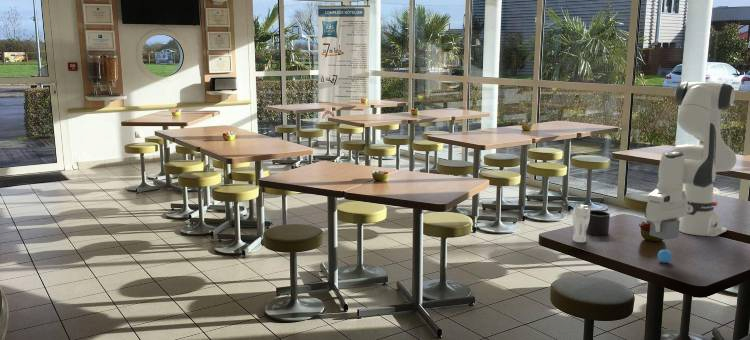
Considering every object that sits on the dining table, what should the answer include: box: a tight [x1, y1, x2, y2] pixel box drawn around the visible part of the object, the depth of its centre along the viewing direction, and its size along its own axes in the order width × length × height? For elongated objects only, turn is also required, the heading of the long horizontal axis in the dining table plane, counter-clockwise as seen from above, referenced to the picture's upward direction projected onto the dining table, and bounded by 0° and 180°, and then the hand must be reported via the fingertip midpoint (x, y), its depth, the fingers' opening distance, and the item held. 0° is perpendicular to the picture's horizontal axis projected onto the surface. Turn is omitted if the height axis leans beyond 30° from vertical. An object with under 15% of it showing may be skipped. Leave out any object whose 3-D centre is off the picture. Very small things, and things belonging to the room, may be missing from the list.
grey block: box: [649, 219, 680, 241], centre depth 243 cm, size 7×7×7 cm
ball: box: [657, 249, 673, 264], centre depth 244 cm, size 5×5×5 cm
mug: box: [587, 210, 611, 237], centre depth 283 cm, size 9×12×9 cm
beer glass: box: [571, 204, 591, 244], centre depth 270 cm, size 7×7×15 cm
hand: (665, 230), depth 243 cm, fingers closed on grey block, 7 cm apart
